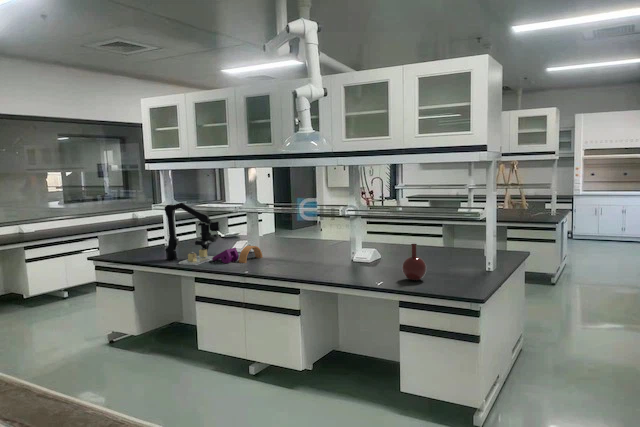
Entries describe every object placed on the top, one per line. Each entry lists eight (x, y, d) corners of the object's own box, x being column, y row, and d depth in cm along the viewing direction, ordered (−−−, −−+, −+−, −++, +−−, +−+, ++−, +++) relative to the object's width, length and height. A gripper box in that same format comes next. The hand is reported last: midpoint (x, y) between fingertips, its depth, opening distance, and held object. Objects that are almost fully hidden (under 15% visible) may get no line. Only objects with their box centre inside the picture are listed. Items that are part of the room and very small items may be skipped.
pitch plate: (178, 264, 323) (178, 261, 322) (199, 257, 345) (199, 255, 345) (196, 265, 318) (195, 262, 318) (215, 258, 340) (215, 255, 340)
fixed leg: (188, 261, 324) (187, 252, 324) (191, 260, 328) (191, 251, 328) (193, 261, 323) (192, 252, 322) (196, 260, 327) (196, 251, 326)
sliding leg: (199, 256, 337) (198, 248, 336) (202, 255, 340) (202, 247, 340) (204, 257, 335) (203, 248, 335) (207, 256, 339) (206, 247, 338)
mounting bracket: (213, 270, 328) (231, 261, 319) (209, 259, 329) (226, 249, 320) (223, 267, 336) (240, 258, 327) (218, 256, 337) (235, 247, 328)
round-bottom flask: (399, 282, 256) (399, 245, 254) (405, 276, 268) (404, 241, 266) (423, 283, 250) (423, 246, 248) (428, 278, 262) (428, 242, 260)
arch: (262, 257, 338) (262, 244, 337) (245, 263, 320) (245, 248, 319) (256, 257, 341) (255, 243, 340) (238, 262, 323) (238, 248, 322)
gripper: (207, 233, 328) (208, 255, 330) (221, 230, 346) (222, 251, 347) (193, 233, 332) (195, 255, 334) (208, 229, 349) (209, 250, 351)
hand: (206, 252), depth 341 cm, fingers closed
